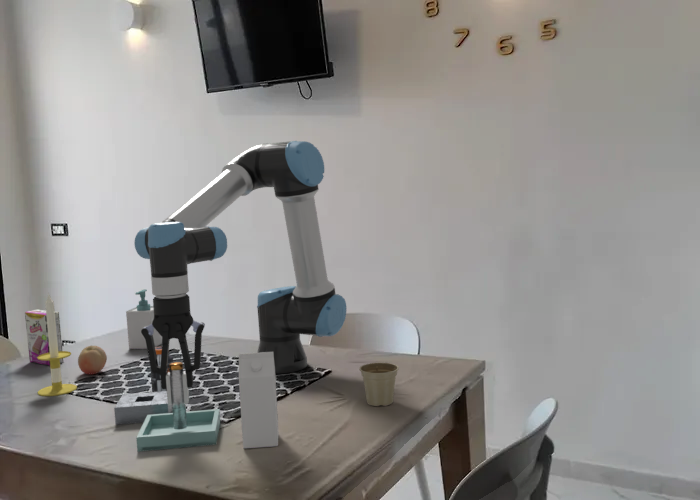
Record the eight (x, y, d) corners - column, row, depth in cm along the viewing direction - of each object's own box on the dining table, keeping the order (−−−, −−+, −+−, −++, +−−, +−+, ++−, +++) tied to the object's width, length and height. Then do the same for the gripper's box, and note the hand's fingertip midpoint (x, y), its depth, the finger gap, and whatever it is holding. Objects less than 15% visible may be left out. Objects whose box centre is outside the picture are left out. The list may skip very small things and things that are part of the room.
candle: (85, 386, 193) (76, 290, 190) (56, 397, 184) (47, 296, 181) (58, 383, 197) (50, 288, 194) (29, 394, 188) (19, 295, 185)
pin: (187, 424, 154) (183, 361, 152) (186, 428, 151) (181, 365, 150) (174, 425, 153) (170, 362, 152) (173, 430, 151) (168, 366, 149)
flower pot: (404, 397, 172) (403, 363, 171) (394, 410, 163) (392, 374, 162) (367, 395, 175) (366, 361, 174) (355, 407, 166) (354, 372, 165)
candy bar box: (28, 362, 223) (23, 311, 221) (42, 358, 227) (38, 308, 225) (50, 366, 217) (45, 314, 215) (64, 362, 221) (59, 311, 219)
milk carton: (245, 436, 150) (239, 349, 148) (278, 434, 151) (273, 347, 149) (243, 449, 143) (237, 358, 141) (278, 446, 144) (273, 356, 142)
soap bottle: (128, 349, 235) (124, 292, 233) (140, 342, 243) (136, 288, 241) (152, 349, 233) (148, 292, 231) (163, 342, 242) (159, 288, 240)
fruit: (72, 376, 204) (70, 349, 204) (92, 368, 212) (90, 342, 211) (94, 378, 201) (92, 350, 201) (113, 370, 209) (111, 344, 208)
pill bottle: (168, 393, 184) (165, 350, 183) (147, 392, 185) (144, 350, 184) (178, 386, 190) (175, 345, 189) (158, 385, 191) (155, 344, 190)
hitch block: (174, 406, 173) (173, 390, 172) (168, 420, 163) (167, 403, 162) (124, 410, 171) (122, 394, 171) (115, 424, 161) (114, 407, 161)
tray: (220, 421, 160) (219, 409, 160) (216, 444, 146) (215, 430, 146) (148, 427, 158) (147, 414, 158) (137, 451, 145) (136, 437, 144)
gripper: (210, 290, 154) (217, 394, 156) (135, 294, 152) (144, 400, 154) (207, 295, 146) (214, 405, 149) (129, 300, 145) (138, 411, 147)
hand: (178, 402), depth 152 cm, fingers closed on pin, 3 cm apart
